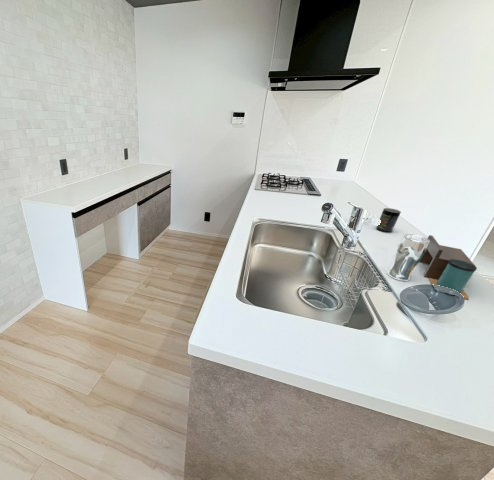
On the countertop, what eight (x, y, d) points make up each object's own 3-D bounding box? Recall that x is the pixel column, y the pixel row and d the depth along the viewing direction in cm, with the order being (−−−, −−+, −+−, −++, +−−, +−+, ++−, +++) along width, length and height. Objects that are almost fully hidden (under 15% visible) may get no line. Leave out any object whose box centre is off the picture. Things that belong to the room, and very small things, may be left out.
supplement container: (390, 234, 125) (399, 213, 120) (374, 229, 129) (381, 209, 124) (393, 230, 129) (402, 210, 124) (377, 226, 133) (385, 207, 129)
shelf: (450, 267, 97) (465, 241, 93) (462, 286, 87) (480, 258, 82) (416, 260, 102) (429, 235, 97) (424, 276, 91) (439, 249, 86)
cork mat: (459, 286, 86) (460, 285, 86) (468, 299, 80) (469, 298, 80) (428, 279, 90) (429, 277, 90) (434, 291, 84) (435, 289, 84)
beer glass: (410, 284, 87) (430, 245, 80) (384, 276, 91) (402, 238, 84) (411, 276, 91) (431, 238, 85) (387, 268, 95) (404, 231, 89)
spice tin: (458, 285, 86) (472, 262, 82) (464, 295, 81) (480, 271, 77) (433, 279, 89) (446, 257, 85) (438, 289, 84) (452, 265, 80)
